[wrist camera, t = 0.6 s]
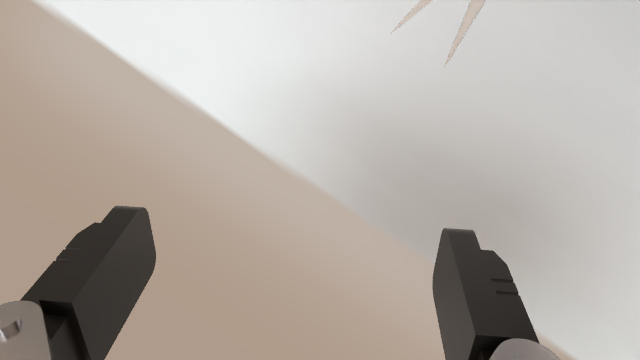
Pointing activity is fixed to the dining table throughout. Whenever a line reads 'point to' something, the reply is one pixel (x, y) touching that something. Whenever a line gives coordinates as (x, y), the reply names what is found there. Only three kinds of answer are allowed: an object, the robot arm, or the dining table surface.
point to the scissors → (471, 13)
